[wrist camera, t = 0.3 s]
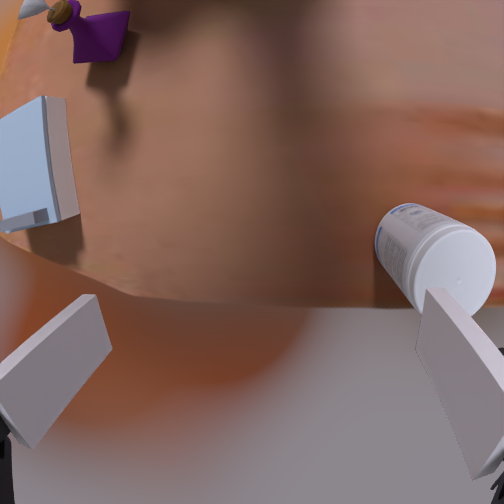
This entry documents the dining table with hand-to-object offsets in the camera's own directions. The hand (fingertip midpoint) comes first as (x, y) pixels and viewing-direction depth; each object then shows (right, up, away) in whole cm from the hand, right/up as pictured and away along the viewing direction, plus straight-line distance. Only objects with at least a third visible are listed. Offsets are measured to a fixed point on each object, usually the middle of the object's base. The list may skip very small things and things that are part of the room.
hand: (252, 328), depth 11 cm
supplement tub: (+20, +5, +26) cm, 33 cm away
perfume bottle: (-20, +32, +22) cm, 44 cm away
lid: (-34, +15, +24) cm, 44 cm away
